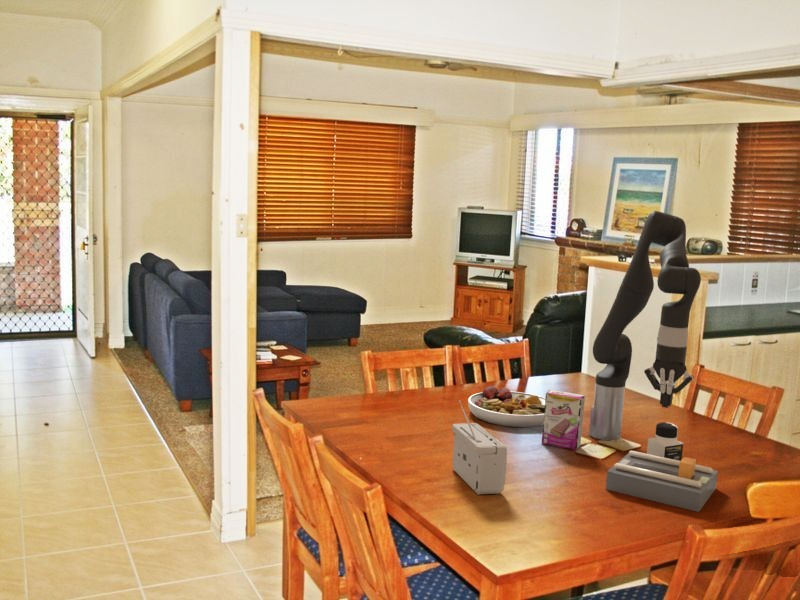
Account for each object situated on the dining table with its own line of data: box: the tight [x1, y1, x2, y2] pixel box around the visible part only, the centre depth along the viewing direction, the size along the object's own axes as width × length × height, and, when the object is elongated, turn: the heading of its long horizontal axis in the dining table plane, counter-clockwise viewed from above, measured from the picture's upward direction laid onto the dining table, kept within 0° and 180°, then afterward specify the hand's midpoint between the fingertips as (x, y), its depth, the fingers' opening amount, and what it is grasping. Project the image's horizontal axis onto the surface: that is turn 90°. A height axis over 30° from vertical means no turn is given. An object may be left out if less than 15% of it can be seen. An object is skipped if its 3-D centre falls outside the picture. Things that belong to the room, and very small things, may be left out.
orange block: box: [678, 456, 697, 479], centre depth 225 cm, size 3×5×4 cm, turn 148°
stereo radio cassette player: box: [451, 400, 508, 495], centre depth 226 cm, size 21×8×20 cm, turn 17°
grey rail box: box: [605, 450, 719, 513], centre depth 229 cm, size 24×20×7 cm
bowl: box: [467, 385, 546, 428], centre depth 290 cm, size 30×30×8 cm
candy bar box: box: [541, 389, 586, 451], centre depth 260 cm, size 11×5×16 cm, turn 65°
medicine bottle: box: [646, 421, 684, 461], centre depth 248 cm, size 7×7×12 cm
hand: (665, 406), depth 226 cm, fingers closed
